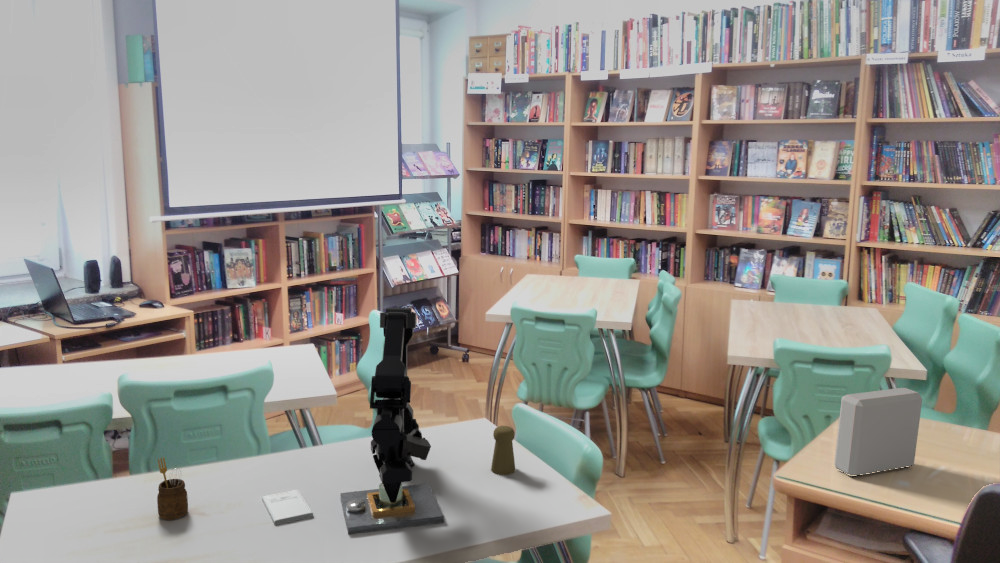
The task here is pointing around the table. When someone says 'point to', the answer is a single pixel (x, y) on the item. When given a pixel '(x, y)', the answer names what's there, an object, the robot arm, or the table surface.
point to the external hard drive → (287, 507)
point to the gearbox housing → (390, 510)
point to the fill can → (384, 499)
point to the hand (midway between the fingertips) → (390, 495)
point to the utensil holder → (171, 496)
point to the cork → (503, 451)
